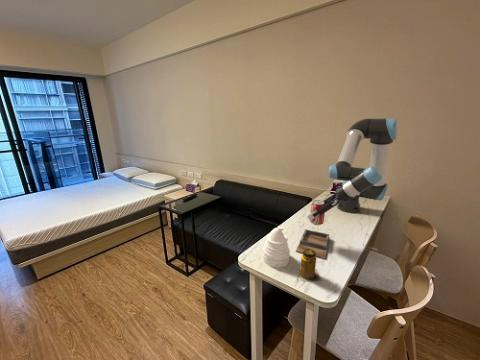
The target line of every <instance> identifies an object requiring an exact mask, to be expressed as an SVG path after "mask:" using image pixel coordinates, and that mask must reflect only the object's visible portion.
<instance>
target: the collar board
mask: <svg viewBox="0 0 480 360" xmlns="http://www.w3.org/2000/svg"><path fill="white" fill-rule="evenodd" d="M330 239H331V237H330V234H329V233H325V232H319V231H315V230H310V229H304V232H303V234H302V236H301V238H300V239H299V243H298V245H297V246H296V247H297V248H296V249H295V253H299V254H301V255H303V250H304V249H312V250H314V251H315V253H316V259H317V258H318V259H322V260H325V259H326V256H327V251H328V246H329V243H330Z"/></svg>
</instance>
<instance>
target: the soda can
mask: <svg viewBox="0 0 480 360" xmlns="http://www.w3.org/2000/svg"><path fill="white" fill-rule="evenodd" d="M323 201H324V200H321V199H320V200H319V199H315V200H313V201H312V203H311V204H310V210H311V211H310V210H309V211H310V212H309V213H310V214H311V213H312V212H314V211H316V209H317V210H318V209H319V208H321V207H322V206H323V205H325V204H324V202H323ZM325 214H326V212H325V213H324V214H322V215H321V216H320V215H319V216H317V217H315V218H314V219H312V220H311V221H310V220H309V223H311V224H312V225H313V226H321V225H323V224H324V223H325Z"/></svg>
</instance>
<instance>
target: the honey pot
mask: <svg viewBox="0 0 480 360" xmlns="http://www.w3.org/2000/svg"><path fill="white" fill-rule="evenodd" d="M283 230H284V226H282V225H279V226H277V227H274V228H273V229H272V230H271V231H270V233H268V234H267V235H266V240H265V241H264V245H263V247H262V260H263V262H264V263H265V264H266V265H267V266H268V267H271V268H275V269H276V268H279V269H280V268H283V267H286V266H287V265H288V264H289V263H290V254H291V253H290V252H291V251H290V247H289V244H288V241H289V238H288V236H287V235H286V234H285V233H283Z"/></svg>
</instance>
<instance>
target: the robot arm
mask: <svg viewBox="0 0 480 360" xmlns="http://www.w3.org/2000/svg"><path fill="white" fill-rule="evenodd" d="M397 134H398V121H397V120H396V119H394V118H363V119H360V120H358V121H356V122H355V123H353V124H352V125H351V126H350V127H349V128H348V130H347V132H346V134H345V138H346V140H345V142H344V144H343V146H342V149H341V151H340V154H339V157H338V159H337V161H336V164H332V165H329V169H328V177H329V179H331V180H336V181H342V184H341V185H340V186H339V187H337V188H336V189H335V192H334V193H333V194H332V195H330V196H328V197H327V198H325V199H324V200H322V201H323V202H324V204H325V205H323V206H322V207H321V208H319V209H318V210H317V209H316V211H314V212H312V213H311V214H308V215H306V217H307V219H308V220H309V222H310V221H311V220H312V219H314V218H315V217H317V216H319V215H320V216H321V215H322V214H324V213H325V214H326V213H327V212H329V210H331V209H333V208H335V207H336V208H337V209H338V210H339V209H340V210H339V211H341V210H342V211H341V212H344V211H345V212H346V213H349V212H357V213H359V212H361V203H360V198H362V199H367V200H374V201H383V200H384V198H385V195H386V192H387V189H388V186H389V184H387V183H386V180H385V179H384V178H385V171H386V165H387V160H388V154H389V153H388V152H389V148H390V145H391V144H392V143H393V142H394V141H396V140H397V136H398V135H397ZM364 139H368V140H369V144H371V152H370V160H369V167H367V168H363V167H354V166H353V164H354V161H355V158H356V155H357V152H358V150H359V149H358V148H359V147H360V143H361V142H362V141H363V140H364ZM309 211H311V209H310V210H309ZM358 211H359V212H358Z"/></svg>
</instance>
